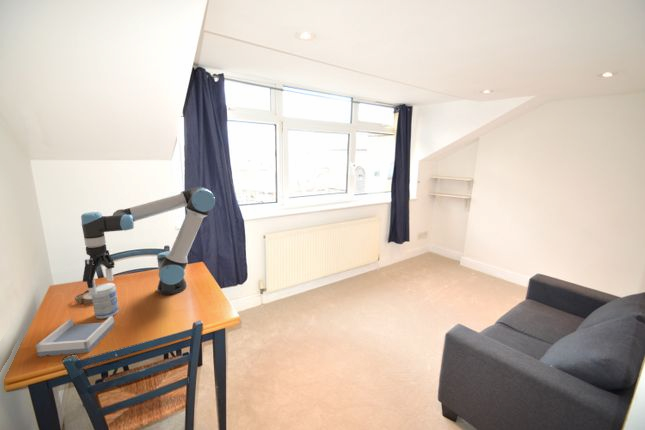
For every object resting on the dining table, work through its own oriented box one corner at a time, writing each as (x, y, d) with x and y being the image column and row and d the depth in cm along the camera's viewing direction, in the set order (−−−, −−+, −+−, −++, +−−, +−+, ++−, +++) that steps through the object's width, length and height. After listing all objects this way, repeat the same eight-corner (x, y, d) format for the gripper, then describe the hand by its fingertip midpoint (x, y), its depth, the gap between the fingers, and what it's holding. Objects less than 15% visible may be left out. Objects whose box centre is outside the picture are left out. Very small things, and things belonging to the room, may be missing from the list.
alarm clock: (102, 299, 148) (69, 297, 144) (101, 307, 149) (68, 305, 145) (113, 289, 159) (82, 286, 155) (112, 297, 159) (82, 295, 156)
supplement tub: (118, 315, 138) (114, 288, 135) (94, 321, 133) (89, 293, 130) (119, 306, 146) (115, 280, 143) (96, 312, 141) (91, 285, 137)
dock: (114, 325, 130) (113, 316, 129) (89, 352, 112) (86, 341, 111) (71, 328, 127) (69, 318, 126) (38, 356, 110) (35, 345, 109)
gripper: (103, 237, 143) (108, 276, 147) (67, 254, 119) (75, 300, 123) (119, 237, 144) (124, 275, 148) (86, 254, 120) (93, 299, 124)
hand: (102, 286), depth 136 cm, fingers open, 13 cm apart
